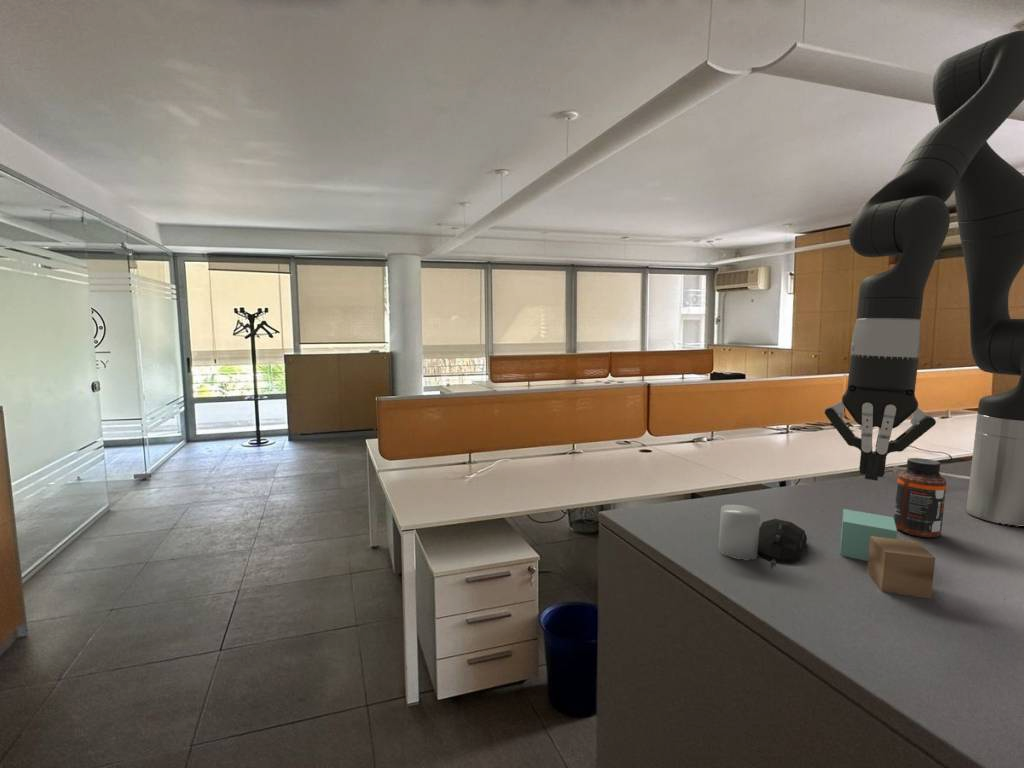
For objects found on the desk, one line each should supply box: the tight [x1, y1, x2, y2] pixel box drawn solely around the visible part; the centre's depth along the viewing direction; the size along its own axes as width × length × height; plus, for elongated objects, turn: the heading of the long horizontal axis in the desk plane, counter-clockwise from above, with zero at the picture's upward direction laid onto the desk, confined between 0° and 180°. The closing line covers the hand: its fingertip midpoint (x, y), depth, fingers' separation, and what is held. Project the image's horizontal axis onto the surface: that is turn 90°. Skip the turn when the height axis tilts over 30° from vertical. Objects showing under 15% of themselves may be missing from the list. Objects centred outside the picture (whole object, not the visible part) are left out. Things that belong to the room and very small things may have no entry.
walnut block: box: [866, 536, 936, 599], centre depth 64 cm, size 5×5×5 cm
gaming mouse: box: [757, 518, 808, 570], centre depth 74 cm, size 6×15×4 cm, turn 147°
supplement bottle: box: [893, 457, 947, 539], centre depth 81 cm, size 6×6×11 cm
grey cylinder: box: [718, 504, 761, 561], centre depth 73 cm, size 5×5×6 cm
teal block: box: [839, 508, 898, 562], centre depth 74 cm, size 6×6×5 cm
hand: (870, 478), depth 73 cm, fingers closed
